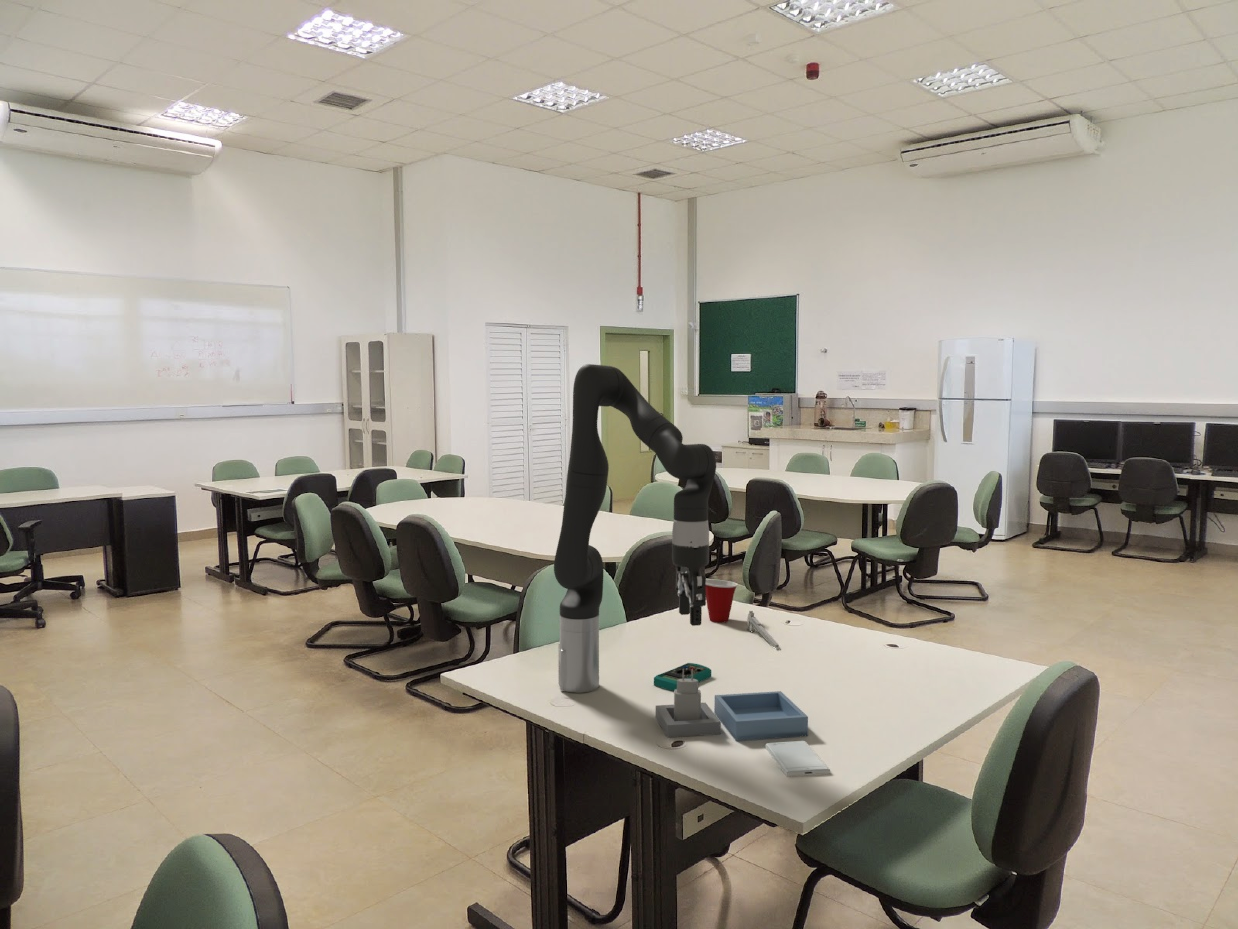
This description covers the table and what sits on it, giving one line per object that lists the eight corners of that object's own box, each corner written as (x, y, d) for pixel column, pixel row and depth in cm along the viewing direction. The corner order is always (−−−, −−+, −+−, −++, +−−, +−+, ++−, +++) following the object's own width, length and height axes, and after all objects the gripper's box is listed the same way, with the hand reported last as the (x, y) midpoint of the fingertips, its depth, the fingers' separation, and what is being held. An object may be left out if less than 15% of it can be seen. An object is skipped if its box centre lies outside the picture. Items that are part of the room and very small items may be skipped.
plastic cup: (744, 621, 257) (745, 582, 256) (716, 626, 252) (717, 586, 251) (722, 613, 266) (722, 576, 265) (694, 618, 261) (695, 580, 260)
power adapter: (700, 728, 174) (701, 671, 173) (674, 728, 174) (675, 671, 174) (699, 722, 178) (700, 666, 177) (673, 722, 178) (674, 666, 177)
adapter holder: (667, 737, 170) (667, 725, 169) (655, 717, 180) (655, 705, 180) (720, 733, 172) (720, 721, 171) (705, 713, 182) (705, 702, 182)
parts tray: (736, 741, 168) (736, 721, 168) (714, 713, 183) (714, 695, 182) (807, 736, 171) (808, 716, 170) (780, 709, 185) (780, 691, 185)
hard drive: (765, 743, 165) (786, 770, 152) (805, 740, 166) (830, 767, 154) (765, 751, 165) (786, 779, 153) (805, 748, 166) (830, 776, 154)
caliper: (746, 630, 248) (747, 609, 248) (750, 630, 248) (750, 609, 248) (777, 651, 228) (777, 628, 228) (780, 651, 229) (781, 628, 228)
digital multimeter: (713, 678, 207) (713, 666, 207) (677, 694, 196) (677, 681, 195) (688, 672, 212) (688, 660, 211) (652, 687, 200) (652, 675, 200)
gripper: (664, 536, 180) (663, 611, 181) (681, 548, 166) (681, 629, 167) (698, 535, 181) (697, 610, 182) (718, 547, 167) (717, 628, 168)
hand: (689, 619), depth 175 cm, fingers open, 8 cm apart
